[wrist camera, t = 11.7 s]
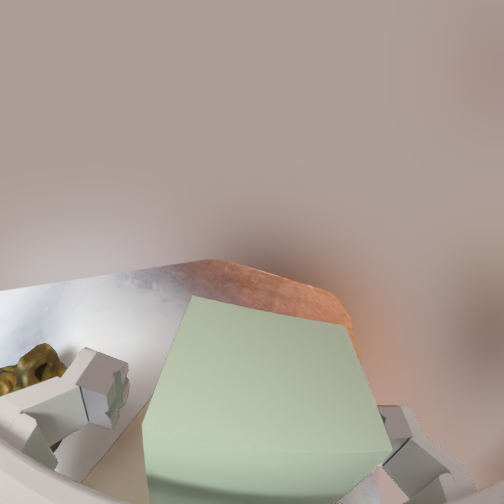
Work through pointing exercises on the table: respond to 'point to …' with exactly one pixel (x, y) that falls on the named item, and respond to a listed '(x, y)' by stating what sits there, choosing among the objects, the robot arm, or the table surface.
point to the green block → (259, 411)
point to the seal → (32, 371)
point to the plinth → (123, 466)
